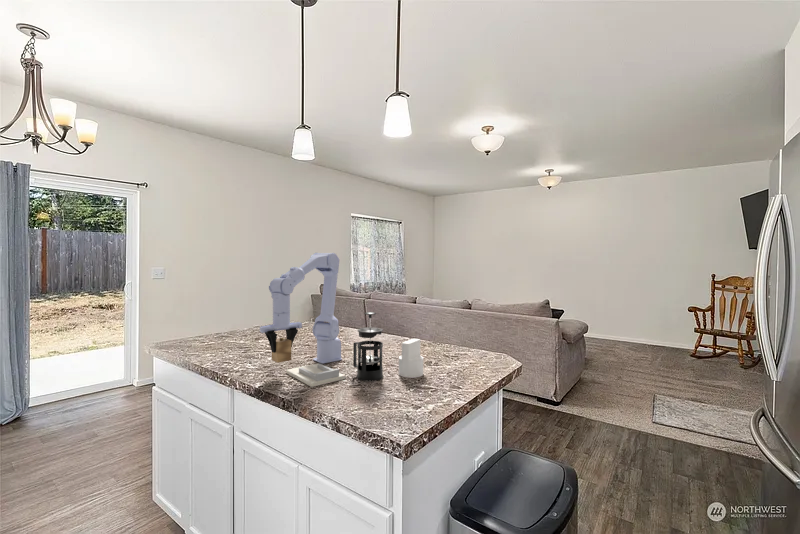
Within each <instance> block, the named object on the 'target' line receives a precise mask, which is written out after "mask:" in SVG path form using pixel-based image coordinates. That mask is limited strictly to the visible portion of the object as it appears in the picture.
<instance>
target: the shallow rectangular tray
mask: <svg viewBox="0 0 800 534" xmlns="http://www.w3.org/2000/svg"><path fill="white" fill-rule="evenodd" d="M285 372H286V374H287V375H289V376H291V377H293V378H294V379H296V380H298V381H299V382H302V383H303V384H305V385H307V386H309V387H310V388H313V387H317V386H321V385H325V384H329V383H334V382H338V381H342V380H344V379H346V374H343V373H341V372H340V369H339V368H335V369H333V368H331V367H329V366H327V365H325V364H321V363H319V362H317V363H313V364H309V365H304V366H299V367H293V368H290V369H289V368H288V369H286V371H285Z"/></svg>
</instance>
